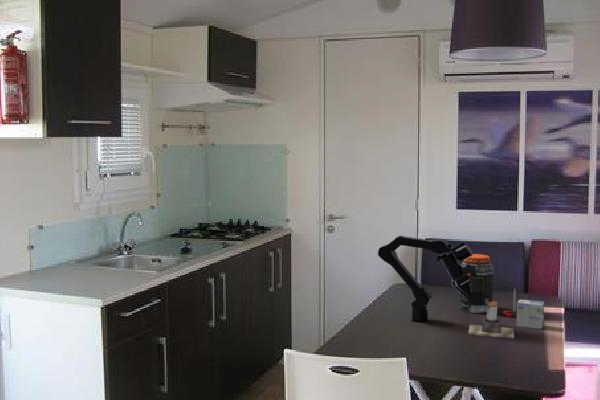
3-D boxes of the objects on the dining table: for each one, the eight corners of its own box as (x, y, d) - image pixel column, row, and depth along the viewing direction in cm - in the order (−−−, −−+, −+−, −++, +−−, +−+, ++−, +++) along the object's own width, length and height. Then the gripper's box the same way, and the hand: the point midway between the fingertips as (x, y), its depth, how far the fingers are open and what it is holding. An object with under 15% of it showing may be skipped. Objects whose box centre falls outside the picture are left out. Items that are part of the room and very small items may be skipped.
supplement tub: (495, 308, 333) (497, 254, 331) (488, 315, 320) (490, 259, 317) (462, 304, 341) (464, 252, 338) (454, 311, 327) (455, 256, 324)
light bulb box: (543, 325, 303) (544, 301, 302) (541, 329, 297) (543, 304, 296) (518, 322, 308) (519, 298, 307) (516, 326, 302) (516, 302, 301)
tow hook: (501, 312, 327) (504, 316, 318) (502, 285, 326) (505, 288, 317) (520, 313, 326) (523, 317, 316) (521, 286, 325) (524, 289, 316)
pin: (488, 331, 289) (489, 303, 288) (485, 328, 293) (486, 300, 292) (497, 331, 290) (498, 303, 288) (494, 328, 294) (495, 300, 292)
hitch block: (468, 334, 288) (469, 322, 288) (469, 326, 300) (470, 315, 299) (513, 338, 283) (514, 326, 283) (513, 330, 295) (513, 319, 294)
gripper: (471, 255, 292) (490, 288, 289) (466, 258, 310) (483, 289, 307) (448, 268, 292) (466, 301, 289) (444, 270, 311) (461, 301, 308)
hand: (470, 298), depth 299 cm, fingers open, 9 cm apart
